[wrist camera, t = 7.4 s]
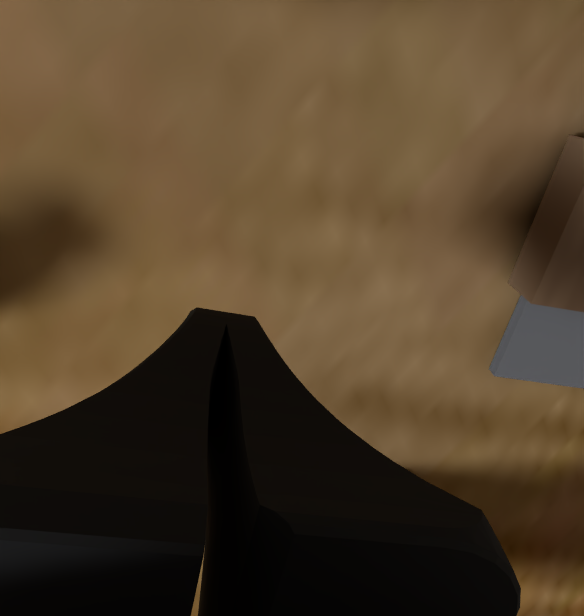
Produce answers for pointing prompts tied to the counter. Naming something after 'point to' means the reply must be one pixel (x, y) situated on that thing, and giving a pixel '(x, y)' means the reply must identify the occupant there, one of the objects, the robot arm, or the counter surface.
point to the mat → (542, 346)
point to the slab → (556, 238)
